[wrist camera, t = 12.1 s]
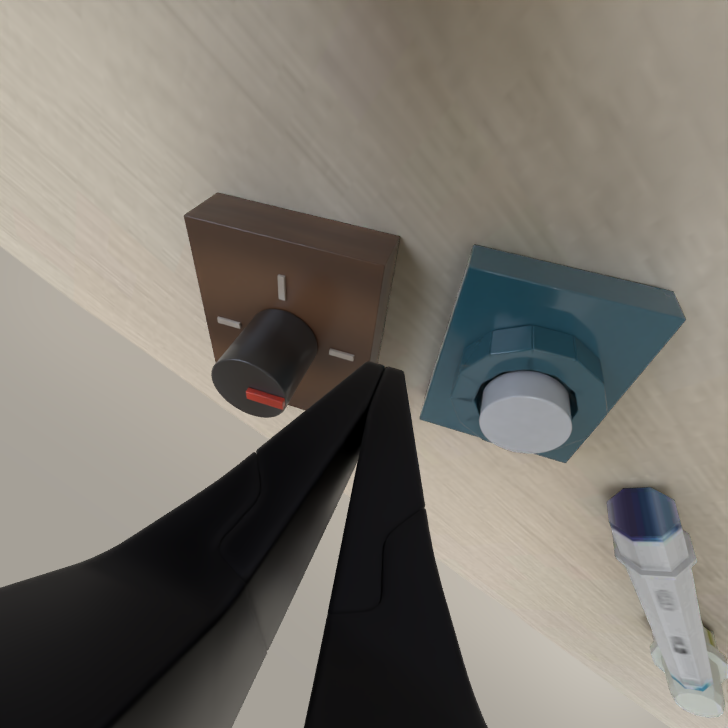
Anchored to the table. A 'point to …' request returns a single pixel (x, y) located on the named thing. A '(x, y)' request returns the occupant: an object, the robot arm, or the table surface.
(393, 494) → the robot arm
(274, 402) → the supply dial
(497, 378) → the flush button
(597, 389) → the teal button mount
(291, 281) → the dial panel
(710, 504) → the table surface
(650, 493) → the white ridged-cap long part
